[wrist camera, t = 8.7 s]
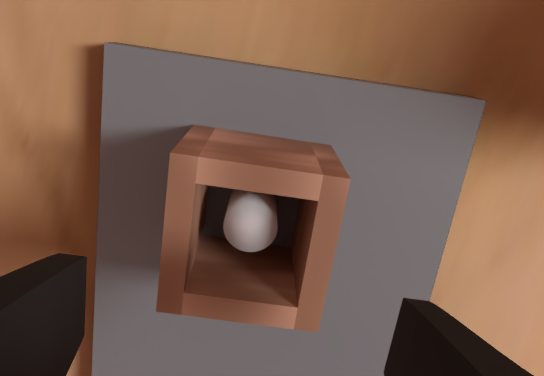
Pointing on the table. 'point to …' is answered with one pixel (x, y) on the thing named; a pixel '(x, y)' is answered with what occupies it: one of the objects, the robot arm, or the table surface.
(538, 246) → the table surface
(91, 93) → the table surface
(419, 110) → the pin plate
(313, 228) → the hollow square block
